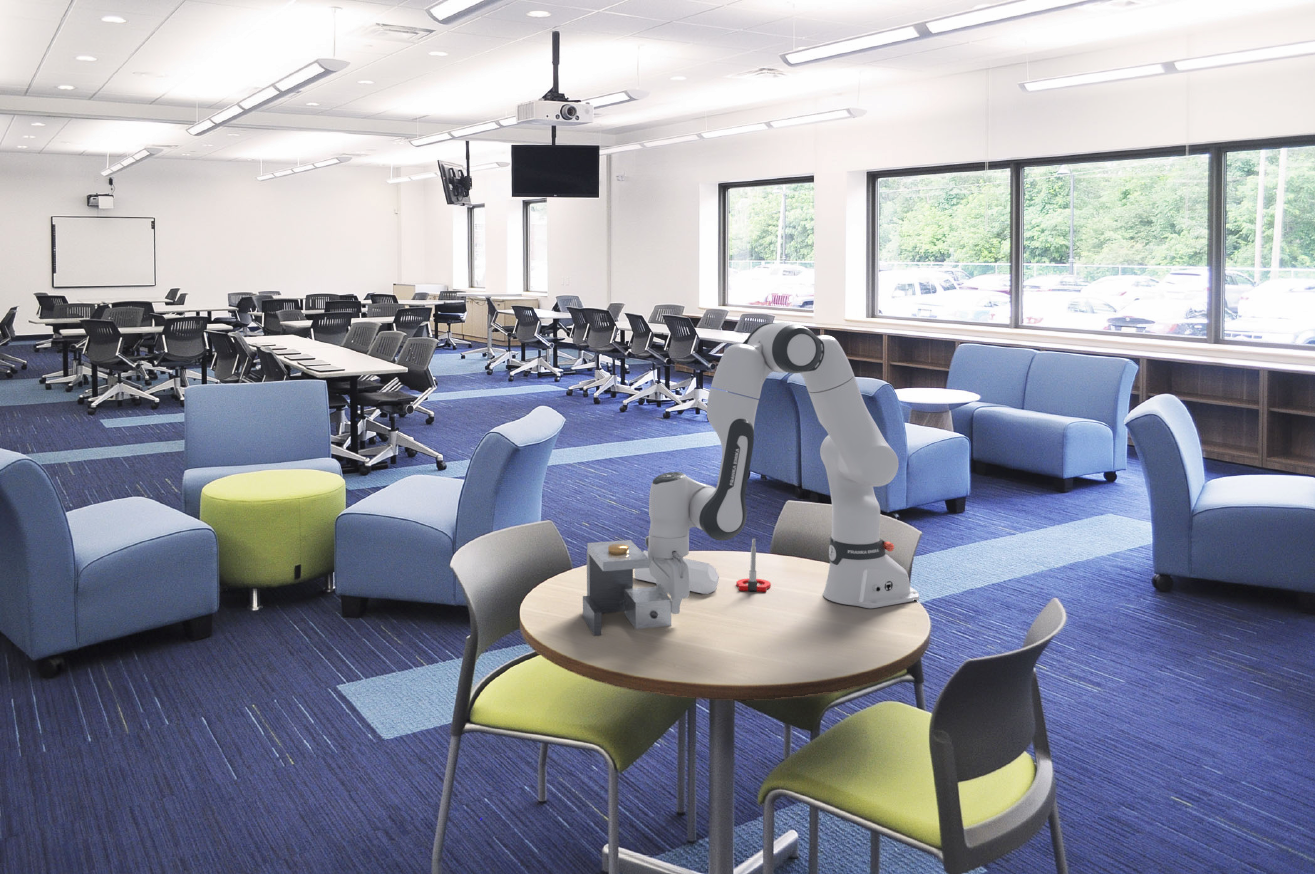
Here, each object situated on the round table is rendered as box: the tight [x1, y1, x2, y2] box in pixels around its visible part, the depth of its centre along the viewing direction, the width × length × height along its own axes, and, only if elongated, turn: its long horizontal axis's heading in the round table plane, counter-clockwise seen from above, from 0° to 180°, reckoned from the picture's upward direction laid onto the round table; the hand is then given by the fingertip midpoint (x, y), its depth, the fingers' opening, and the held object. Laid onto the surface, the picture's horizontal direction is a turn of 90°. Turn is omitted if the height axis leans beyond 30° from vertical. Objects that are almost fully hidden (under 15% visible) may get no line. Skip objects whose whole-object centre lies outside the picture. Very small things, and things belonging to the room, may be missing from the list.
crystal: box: [633, 550, 720, 595], centre depth 261 cm, size 7×7×24 cm
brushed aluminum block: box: [624, 585, 672, 630], centre depth 234 cm, size 8×10×6 cm
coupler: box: [582, 539, 649, 637], centre depth 233 cm, size 12×17×17 cm
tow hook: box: [735, 538, 772, 593], centre depth 259 cm, size 8×13×9 cm
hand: (668, 606), depth 236 cm, fingers open, 8 cm apart
